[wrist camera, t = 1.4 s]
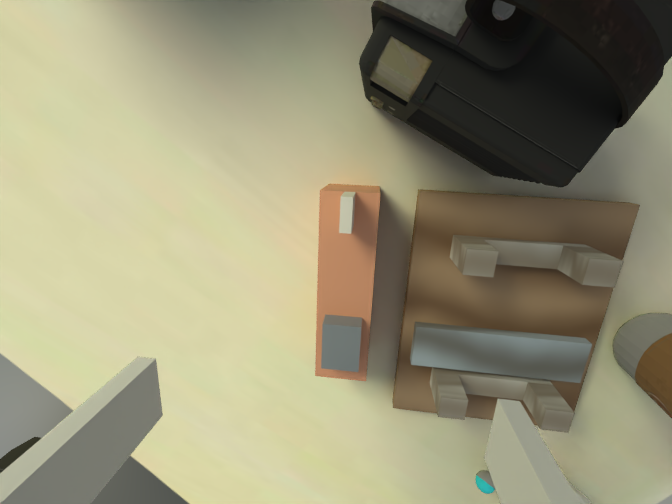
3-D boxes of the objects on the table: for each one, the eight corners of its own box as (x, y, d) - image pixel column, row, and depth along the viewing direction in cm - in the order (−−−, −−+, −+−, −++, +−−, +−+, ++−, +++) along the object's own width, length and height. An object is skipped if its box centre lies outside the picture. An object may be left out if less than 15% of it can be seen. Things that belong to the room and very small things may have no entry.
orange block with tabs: (329, 183, 30) (312, 195, 21) (379, 186, 29) (381, 198, 21) (324, 341, 34) (309, 400, 26) (367, 345, 34) (365, 406, 26)
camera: (428, -49, 24) (510, -351, 10) (588, 52, 25) (887, -89, 10) (353, 96, 27) (330, 31, 13) (496, 181, 28) (626, 210, 14)
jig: (418, 189, 29) (428, 197, 23) (628, 202, 27) (691, 214, 22) (392, 399, 35) (396, 443, 30) (561, 419, 33) (597, 470, 28)
